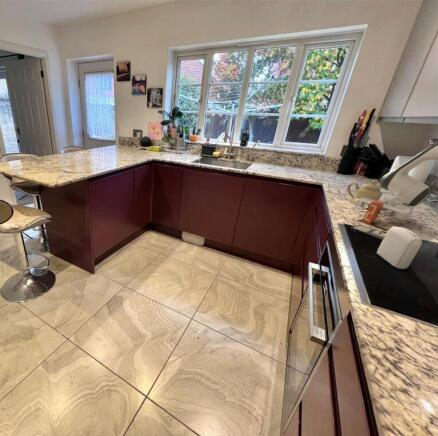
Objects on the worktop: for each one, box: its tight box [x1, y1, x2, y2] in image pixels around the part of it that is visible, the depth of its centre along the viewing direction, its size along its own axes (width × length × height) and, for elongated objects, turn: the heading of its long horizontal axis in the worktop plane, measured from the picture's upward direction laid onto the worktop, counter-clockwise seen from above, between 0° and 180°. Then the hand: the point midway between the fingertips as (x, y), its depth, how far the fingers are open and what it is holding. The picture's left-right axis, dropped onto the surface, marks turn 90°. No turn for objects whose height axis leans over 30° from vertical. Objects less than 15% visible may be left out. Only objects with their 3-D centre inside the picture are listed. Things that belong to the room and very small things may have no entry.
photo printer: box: [376, 226, 423, 270], centre depth 80 cm, size 10×4×12 cm, turn 169°
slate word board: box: [350, 224, 387, 241], centre depth 99 cm, size 18×8×2 cm, turn 26°
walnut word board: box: [356, 218, 393, 232], centre depth 106 cm, size 18×8×2 cm, turn 26°
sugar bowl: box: [347, 179, 383, 204], centre depth 134 cm, size 15×11×15 cm
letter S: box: [362, 201, 384, 224], centre depth 109 cm, size 3×5×10 cm, turn 116°
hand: (373, 210), depth 108 cm, fingers open, 5 cm apart
